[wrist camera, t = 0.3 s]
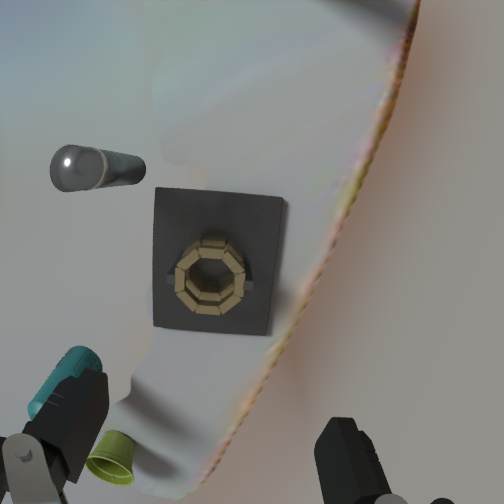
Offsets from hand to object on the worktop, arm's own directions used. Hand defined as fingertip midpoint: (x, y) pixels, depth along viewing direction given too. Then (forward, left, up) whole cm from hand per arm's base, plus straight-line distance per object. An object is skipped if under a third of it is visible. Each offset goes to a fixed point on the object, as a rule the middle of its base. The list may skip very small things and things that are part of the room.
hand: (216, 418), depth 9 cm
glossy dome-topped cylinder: (-8, -12, -29) cm, 32 cm away
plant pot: (+40, -18, -29) cm, 53 cm away
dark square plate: (+3, -1, -29) cm, 29 cm away
